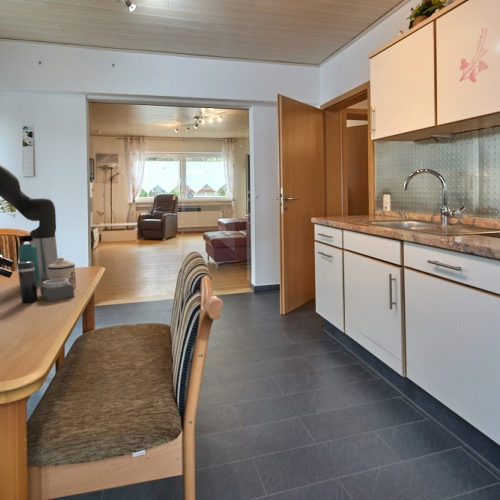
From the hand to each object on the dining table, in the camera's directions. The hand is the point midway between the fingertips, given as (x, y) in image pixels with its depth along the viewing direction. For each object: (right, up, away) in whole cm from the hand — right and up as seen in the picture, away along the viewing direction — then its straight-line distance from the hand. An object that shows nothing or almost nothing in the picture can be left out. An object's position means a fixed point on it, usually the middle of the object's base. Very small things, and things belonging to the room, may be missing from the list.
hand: (12, 269), depth 127 cm
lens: (+5, -11, +1) cm, 12 cm away
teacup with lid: (+8, -8, +19) cm, 22 cm away
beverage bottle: (-5, -8, +20) cm, 22 cm away
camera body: (+12, -10, +7) cm, 17 cm away
